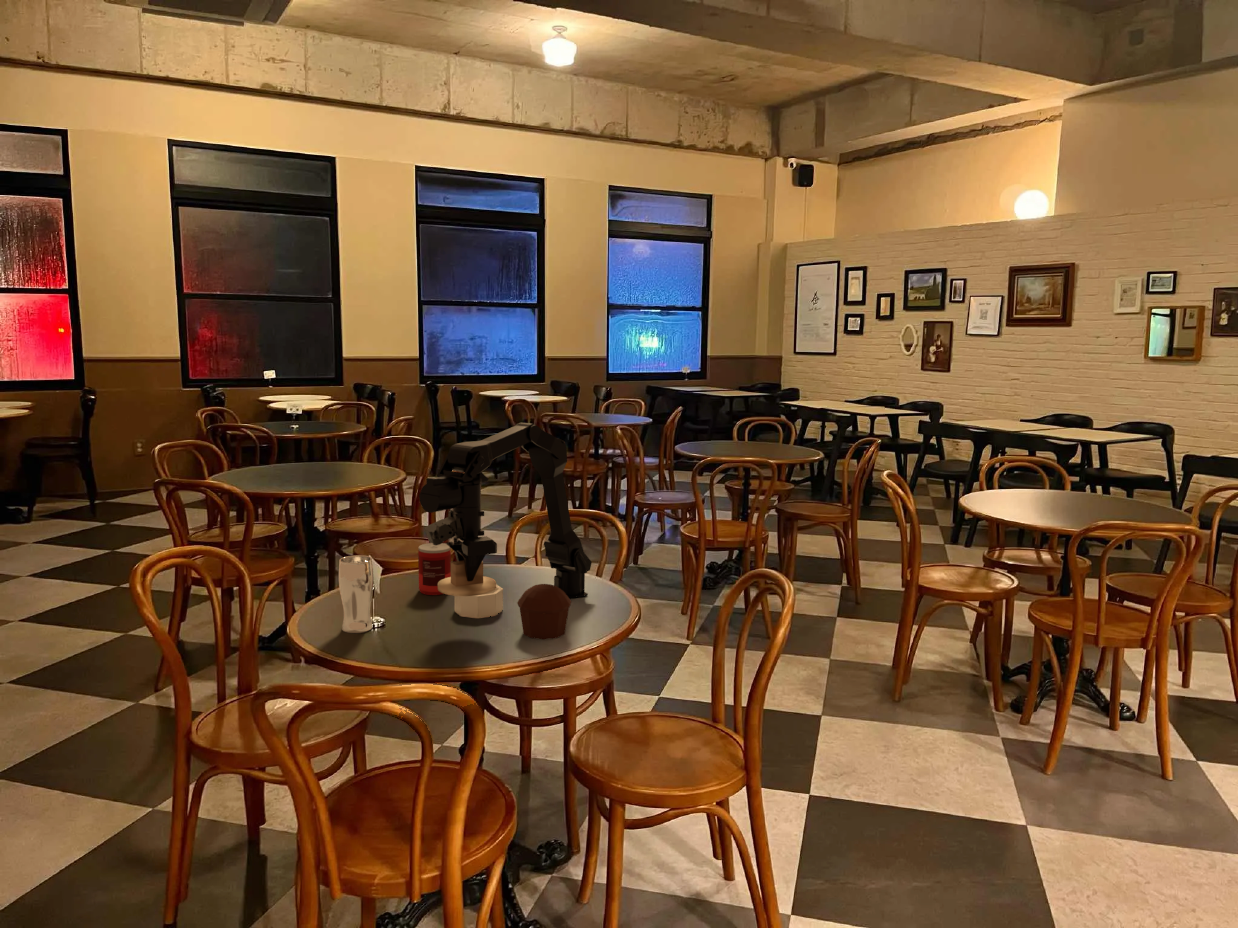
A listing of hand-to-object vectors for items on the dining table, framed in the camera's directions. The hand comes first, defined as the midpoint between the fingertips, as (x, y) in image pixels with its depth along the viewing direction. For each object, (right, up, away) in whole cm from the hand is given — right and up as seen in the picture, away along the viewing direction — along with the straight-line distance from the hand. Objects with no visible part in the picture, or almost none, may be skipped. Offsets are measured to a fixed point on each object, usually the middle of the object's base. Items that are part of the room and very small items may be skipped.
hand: (467, 578), depth 183 cm
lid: (0, -2, 0) cm, 2 cm away
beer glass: (-23, -11, +2) cm, 26 cm away
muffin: (+16, -12, +2) cm, 20 cm away
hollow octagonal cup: (0, -9, +16) cm, 18 cm away
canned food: (-13, -7, +30) cm, 33 cm away
